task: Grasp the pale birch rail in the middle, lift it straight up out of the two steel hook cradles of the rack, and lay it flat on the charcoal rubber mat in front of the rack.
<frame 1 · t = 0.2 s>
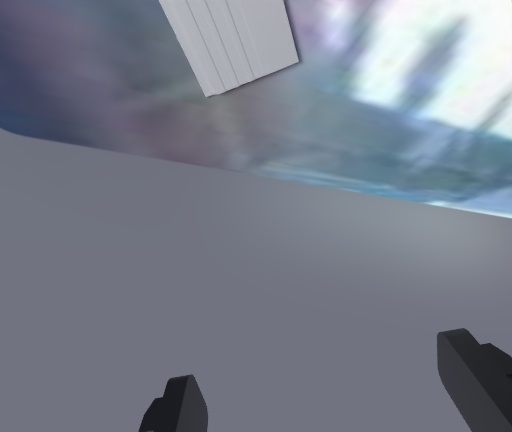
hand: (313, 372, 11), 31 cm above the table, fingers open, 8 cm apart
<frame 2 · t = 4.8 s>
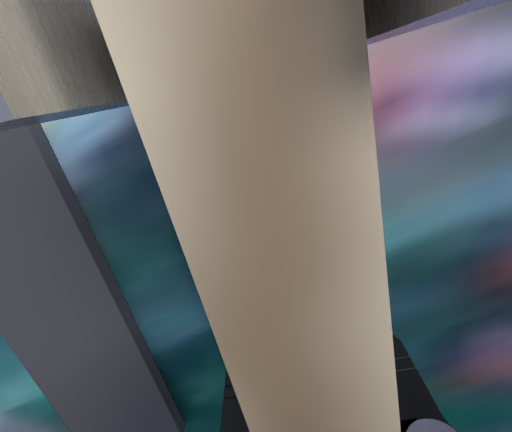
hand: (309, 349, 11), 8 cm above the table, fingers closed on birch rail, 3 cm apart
birch rail: (316, 382, 10), point 10 cm above the table, touching gripper, hook rack
hook rack: (288, 242, 19), on the table
rubber mat: (48, 277, 20), on the table
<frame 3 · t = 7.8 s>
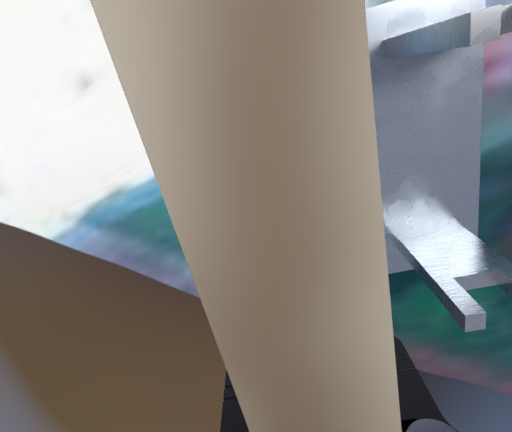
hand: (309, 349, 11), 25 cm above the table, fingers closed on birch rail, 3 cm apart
birch rail: (317, 382, 10), point 26 cm above the table, touching gripper
hook rack: (421, 148, 33), on the table
when the fingers open (2 cm above the table, at t = 11.1 s): birch rail drops 2 cm, resting on rubber mat.
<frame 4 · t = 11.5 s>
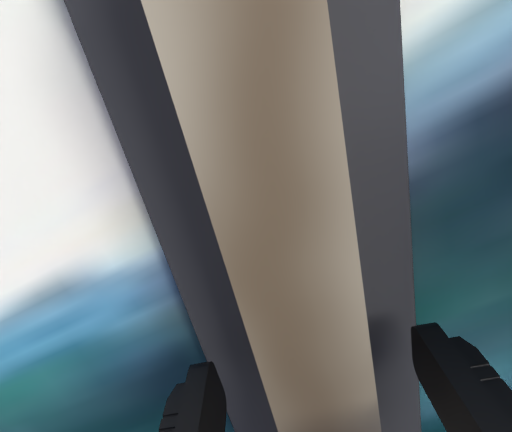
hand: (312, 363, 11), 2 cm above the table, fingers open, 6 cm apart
birch rail: (309, 334, 12), point 1 cm above the table, touching rubber mat
rubber mat: (303, 317, 13), on the table
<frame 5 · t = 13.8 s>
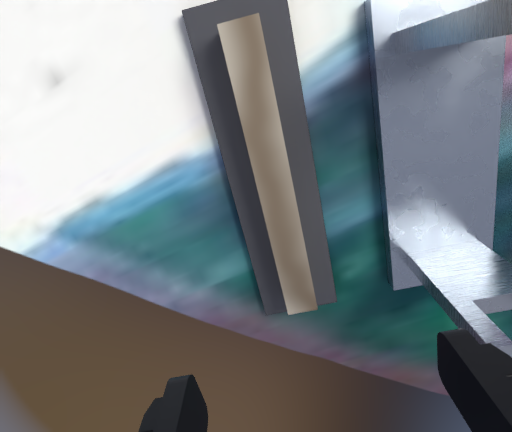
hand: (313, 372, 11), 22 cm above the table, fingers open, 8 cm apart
birch rail: (274, 181, 30), point 1 cm above the table, touching rubber mat
hook rack: (432, 153, 30), on the table
rubber mat: (272, 179, 31), on the table
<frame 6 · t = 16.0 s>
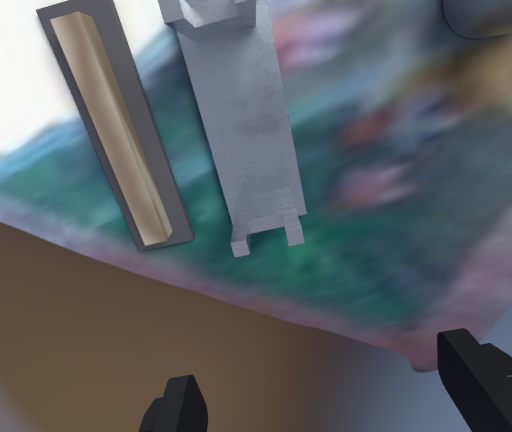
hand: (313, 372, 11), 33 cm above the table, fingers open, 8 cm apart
birch rail: (126, 140, 39), point 1 cm above the table, touching rubber mat
hook rack: (246, 119, 39), on the table
rubber mat: (128, 139, 40), on the table
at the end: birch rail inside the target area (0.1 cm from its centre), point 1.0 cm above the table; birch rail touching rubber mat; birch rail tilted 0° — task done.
